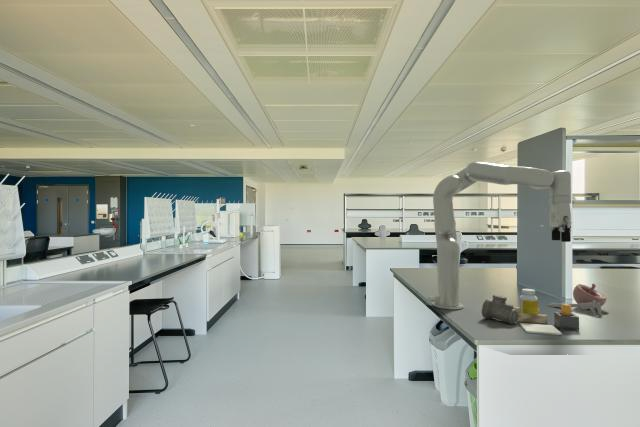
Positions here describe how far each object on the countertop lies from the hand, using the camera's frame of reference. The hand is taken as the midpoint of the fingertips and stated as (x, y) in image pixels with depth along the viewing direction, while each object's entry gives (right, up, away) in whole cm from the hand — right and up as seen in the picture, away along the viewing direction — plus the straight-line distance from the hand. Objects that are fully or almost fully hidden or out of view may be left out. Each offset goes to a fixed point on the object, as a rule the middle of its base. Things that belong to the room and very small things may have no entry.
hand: (560, 240), depth 154 cm
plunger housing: (-11, -31, -19) cm, 38 cm away
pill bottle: (-18, -31, -7) cm, 36 cm away
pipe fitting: (-31, -31, -10) cm, 45 cm away
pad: (-22, -31, -21) cm, 43 cm away
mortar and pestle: (+18, -31, +9) cm, 37 cm away
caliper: (+9, -31, +6) cm, 33 cm away
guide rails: (-18, -31, -7) cm, 36 cm away
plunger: (-11, -27, -19) cm, 35 cm away
